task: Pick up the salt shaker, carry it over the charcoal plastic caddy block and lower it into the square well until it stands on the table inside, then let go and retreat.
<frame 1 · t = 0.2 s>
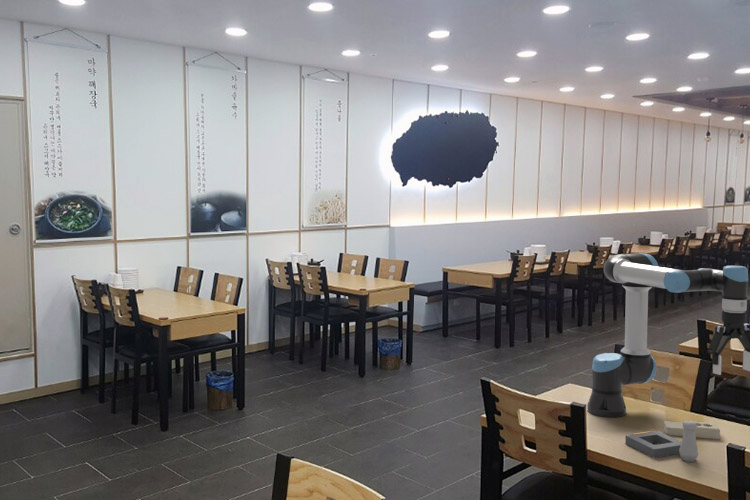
hand: (732, 372, 229), 28 cm above the table, fingers open, 13 cm apart
caddy block: (655, 448, 233), on the table
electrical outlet: (691, 435, 248), on the table
salt shaker: (688, 460, 223), on the table
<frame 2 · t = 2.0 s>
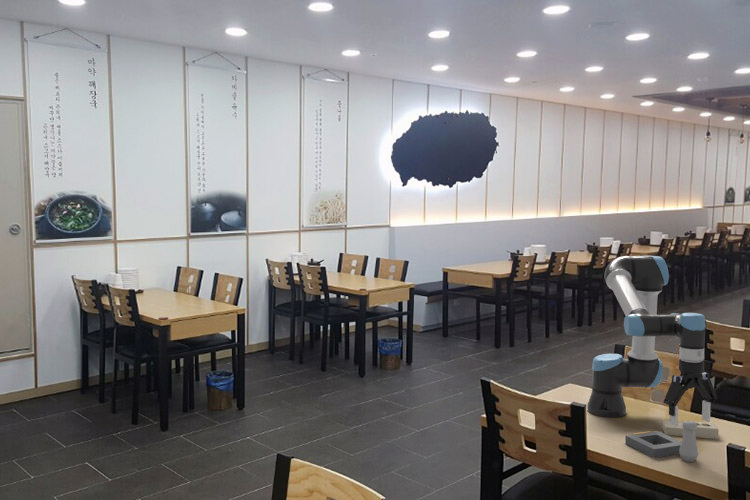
hand: (690, 422, 222), 13 cm above the table, fingers open, 13 cm apart
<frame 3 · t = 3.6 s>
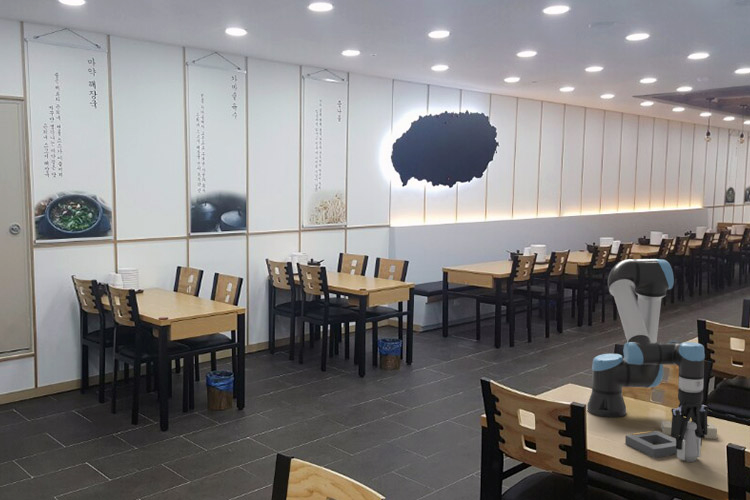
hand: (688, 456, 223), 1 cm above the table, fingers closed on salt shaker, 6 cm apart
salt shaker: (688, 460, 223), on the table, touching gripper
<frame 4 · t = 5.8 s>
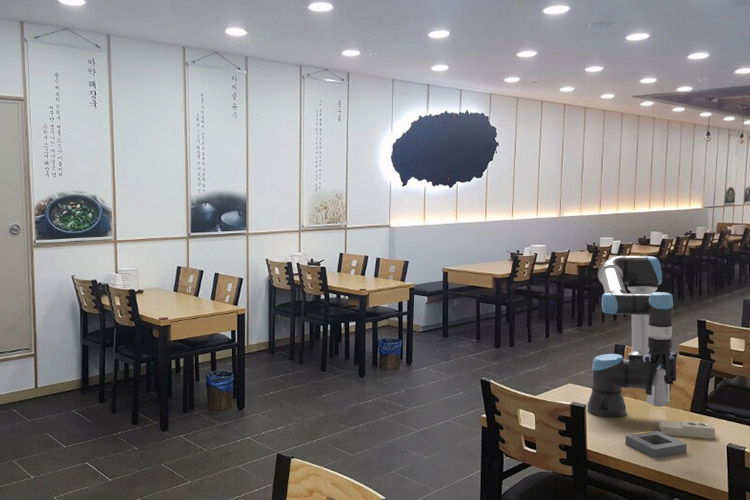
hand: (657, 402, 232), 16 cm above the table, fingers closed on salt shaker, 6 cm apart
salt shaker: (657, 405, 232), point 15 cm above the table, touching gripper
when the fingers open (4 cm above the table, at t = 8.1 s): salt shaker drops 3 cm, resting in caddy block.
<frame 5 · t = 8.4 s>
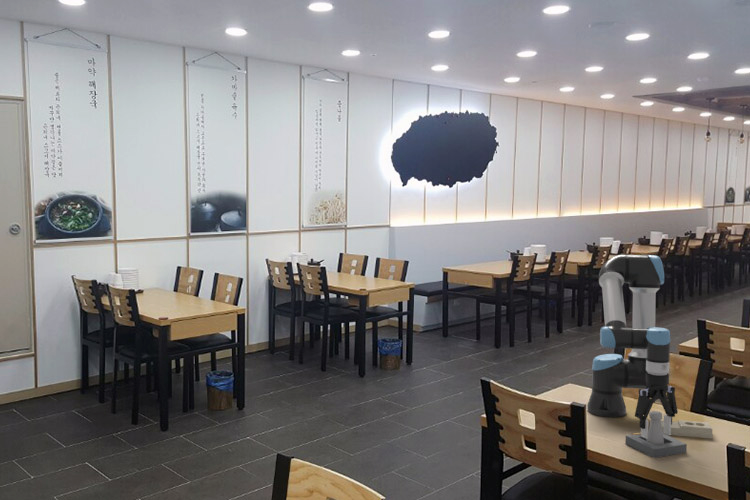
hand: (655, 435, 233), 5 cm above the table, fingers open, 9 cm apart
salt shaker: (655, 448, 233), resting in caddy block
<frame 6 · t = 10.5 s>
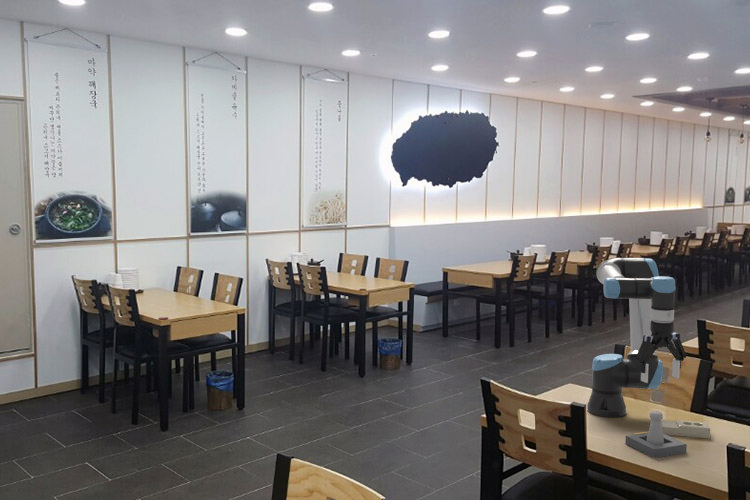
hand: (660, 379, 236), 23 cm above the table, fingers open, 13 cm apart
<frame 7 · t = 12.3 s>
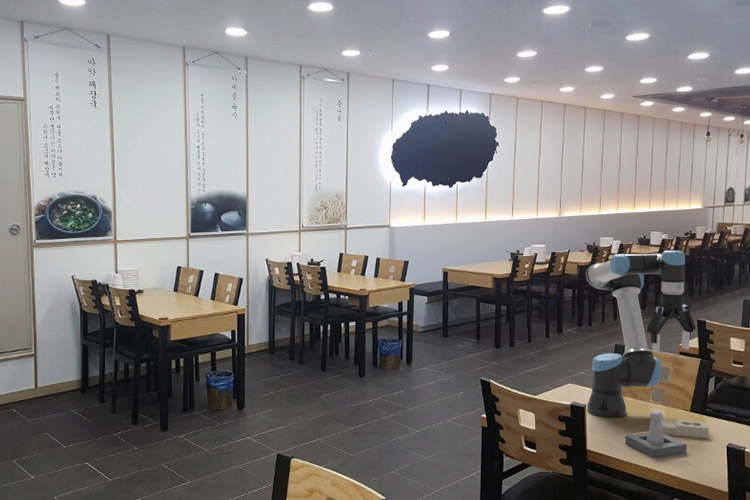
hand: (670, 350, 244), 32 cm above the table, fingers open, 13 cm apart
at the end: salt shaker 0.1 cm off-centre on the caddy block, point 0.0 cm above the caddy block's base; salt shaker tilted 0°; the gripper is holding nothing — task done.
